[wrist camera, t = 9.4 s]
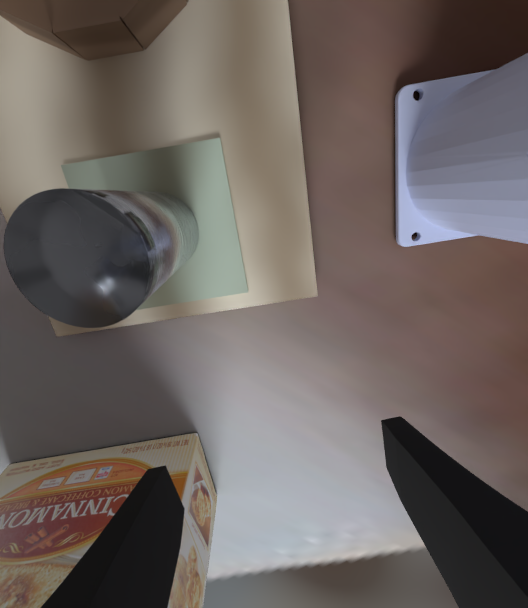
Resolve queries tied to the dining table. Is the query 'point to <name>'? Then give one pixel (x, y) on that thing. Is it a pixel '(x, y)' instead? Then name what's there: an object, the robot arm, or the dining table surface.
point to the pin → (96, 251)
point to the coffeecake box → (97, 515)
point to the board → (166, 133)
